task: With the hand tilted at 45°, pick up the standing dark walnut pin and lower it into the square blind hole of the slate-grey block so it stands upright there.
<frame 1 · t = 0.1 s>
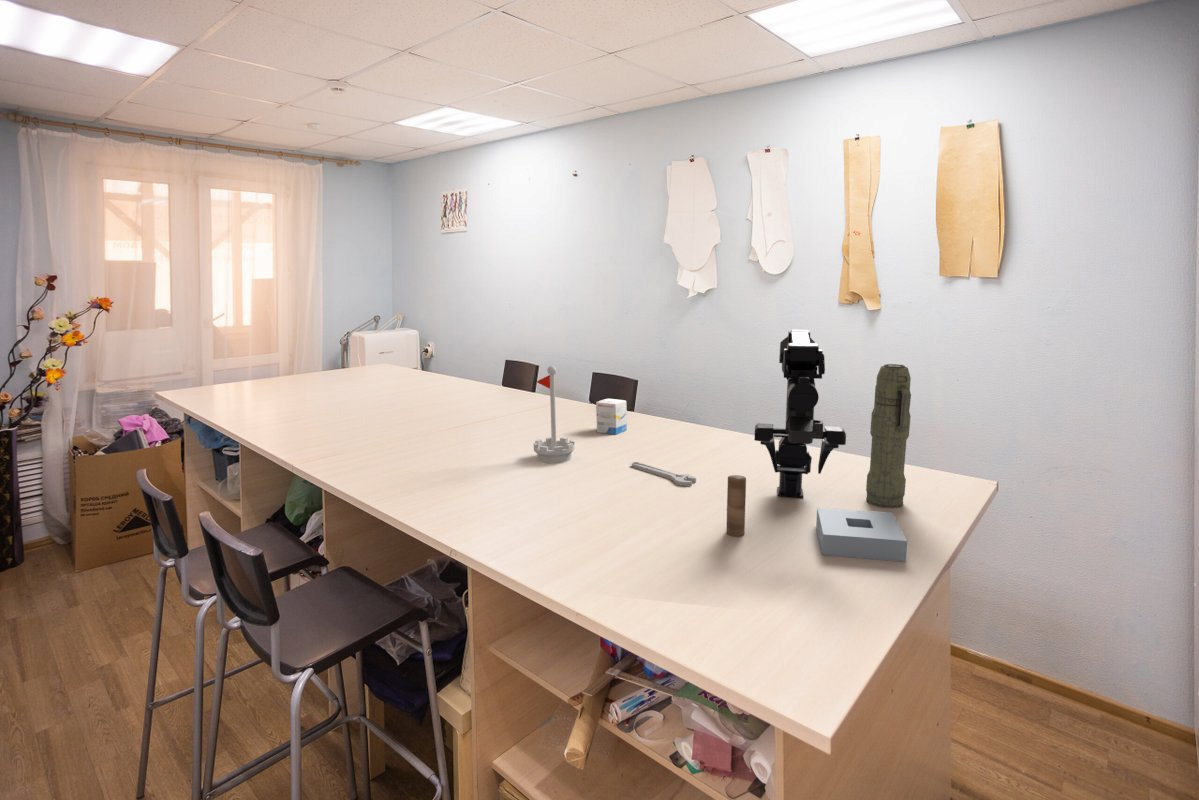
hand: (797, 472, 143), 15 cm above the table, tool pointing down, fingers open, 9 cm apart
thermos: (884, 502, 165), on the table
ink box: (611, 431, 243), on the table
pin: (735, 532, 147), on the table
hole block: (857, 542, 140), on the table
flag stand: (554, 458, 208), on the table
adjustable wrench: (664, 476, 190), on the table
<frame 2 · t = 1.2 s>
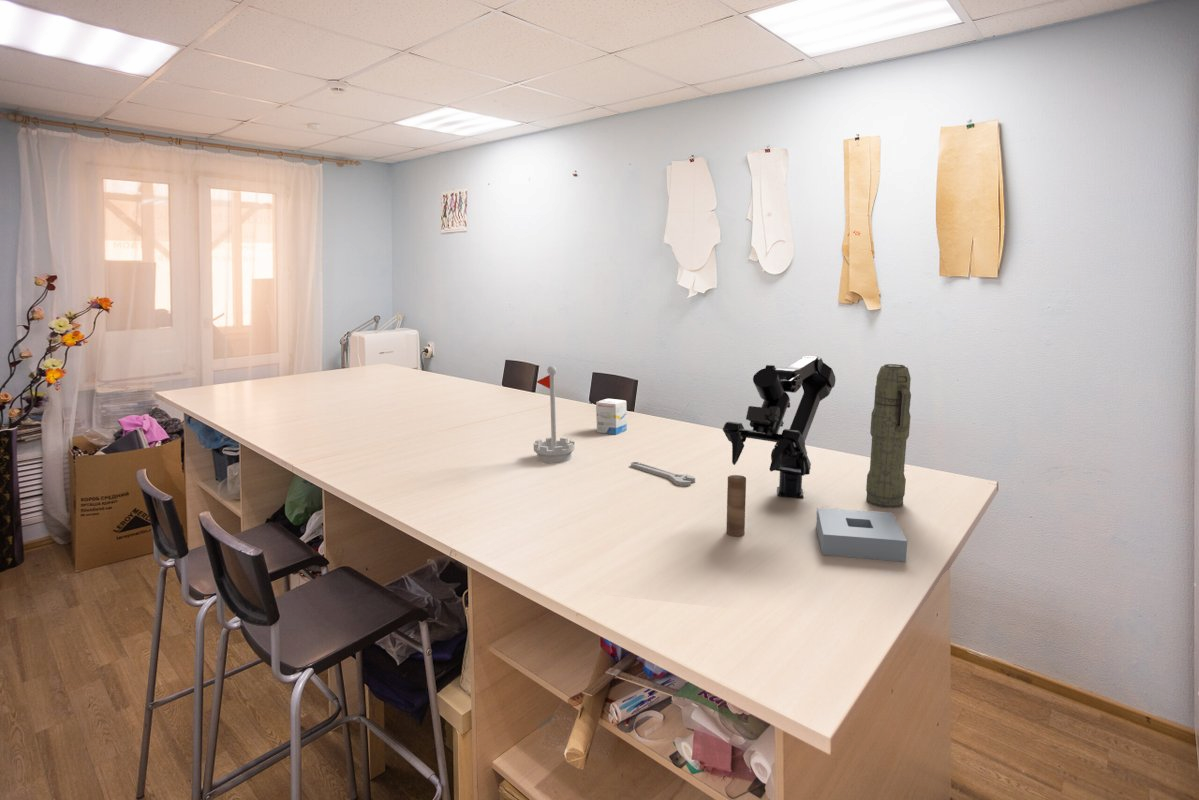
hand: (751, 467, 150), 14 cm above the table, tool tilted 45°, fingers open, 9 cm apart
nothing on the table moved.
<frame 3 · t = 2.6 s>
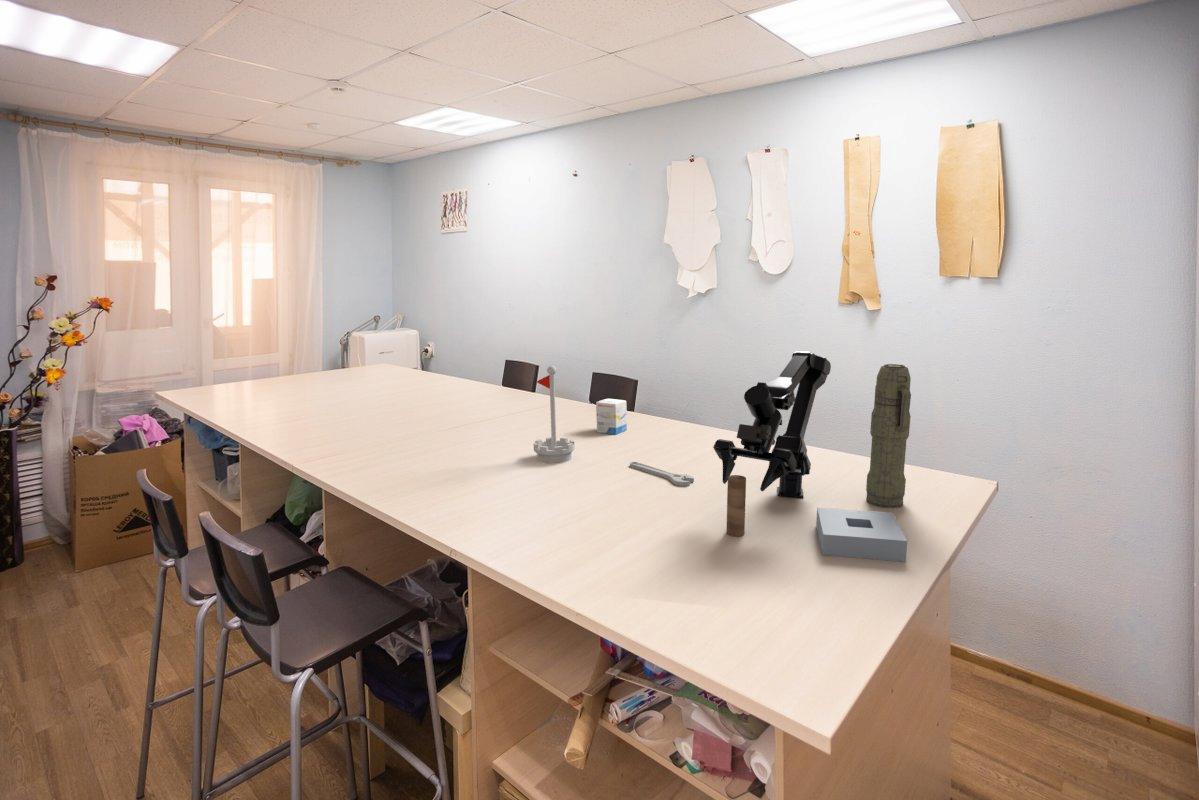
hand: (742, 486, 147), 10 cm above the table, tool tilted 45°, fingers open, 9 cm apart
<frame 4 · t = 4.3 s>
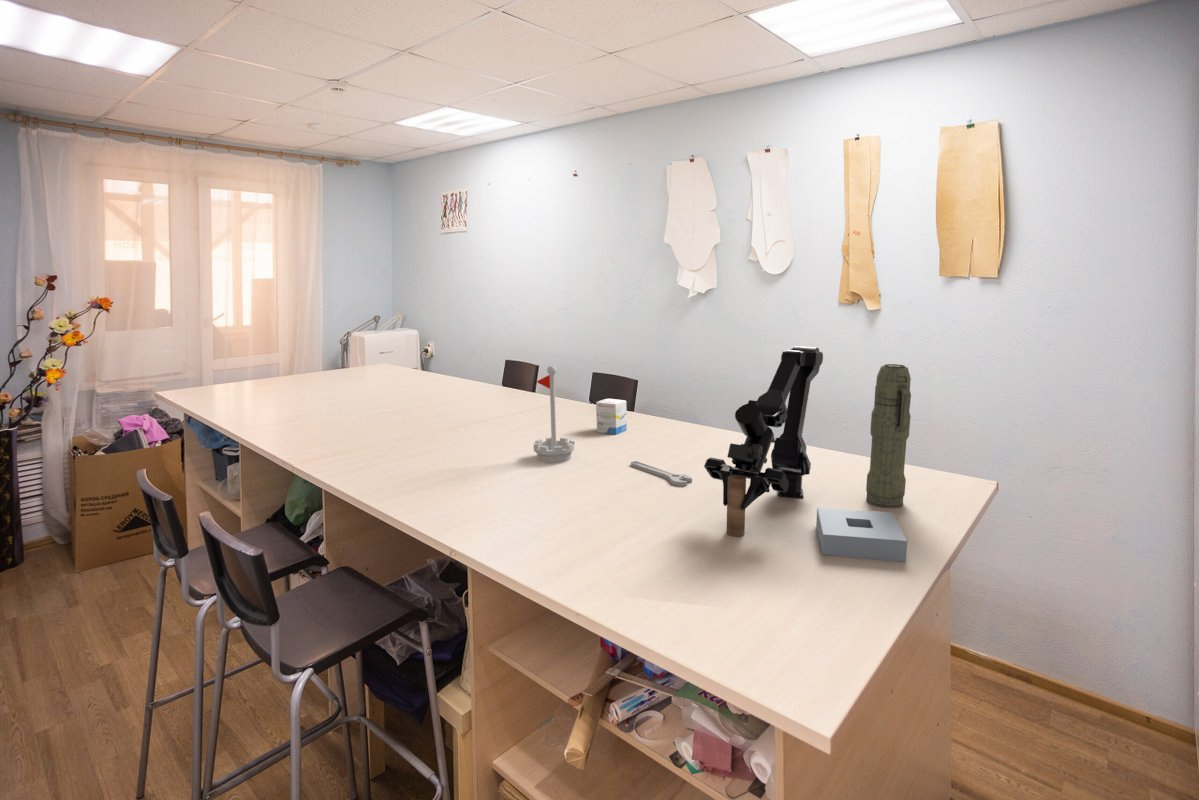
hand: (733, 507, 144), 7 cm above the table, tool tilted 45°, fingers closed on pin, 4 cm apart
pin: (735, 532, 147), on the table, touching gripper
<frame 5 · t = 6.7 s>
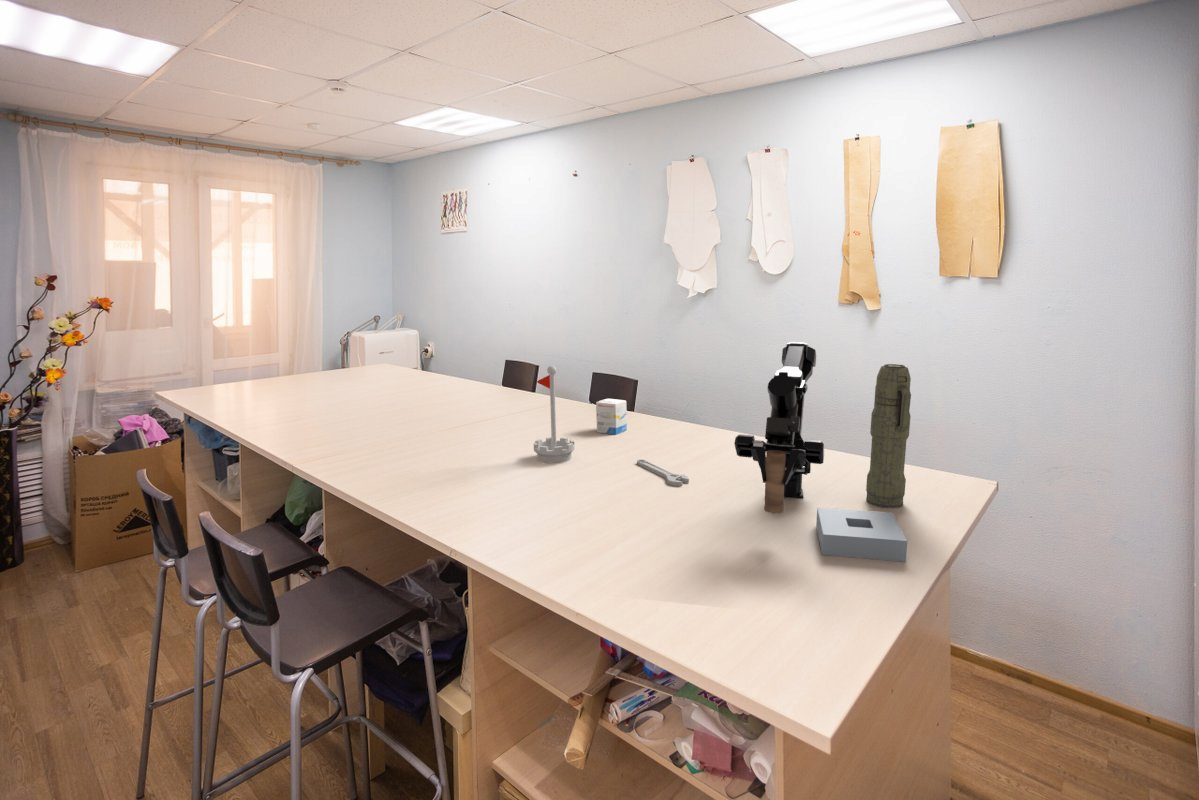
hand: (774, 483, 139), 13 cm above the table, tool tilted 45°, fingers closed on pin, 4 cm apart
pin: (773, 510, 141), point 7 cm above the table, touching gripper
when the fingers open (9 cm above the table, at t = 9.3 s): pin drops 1 cm, resting on hole block.
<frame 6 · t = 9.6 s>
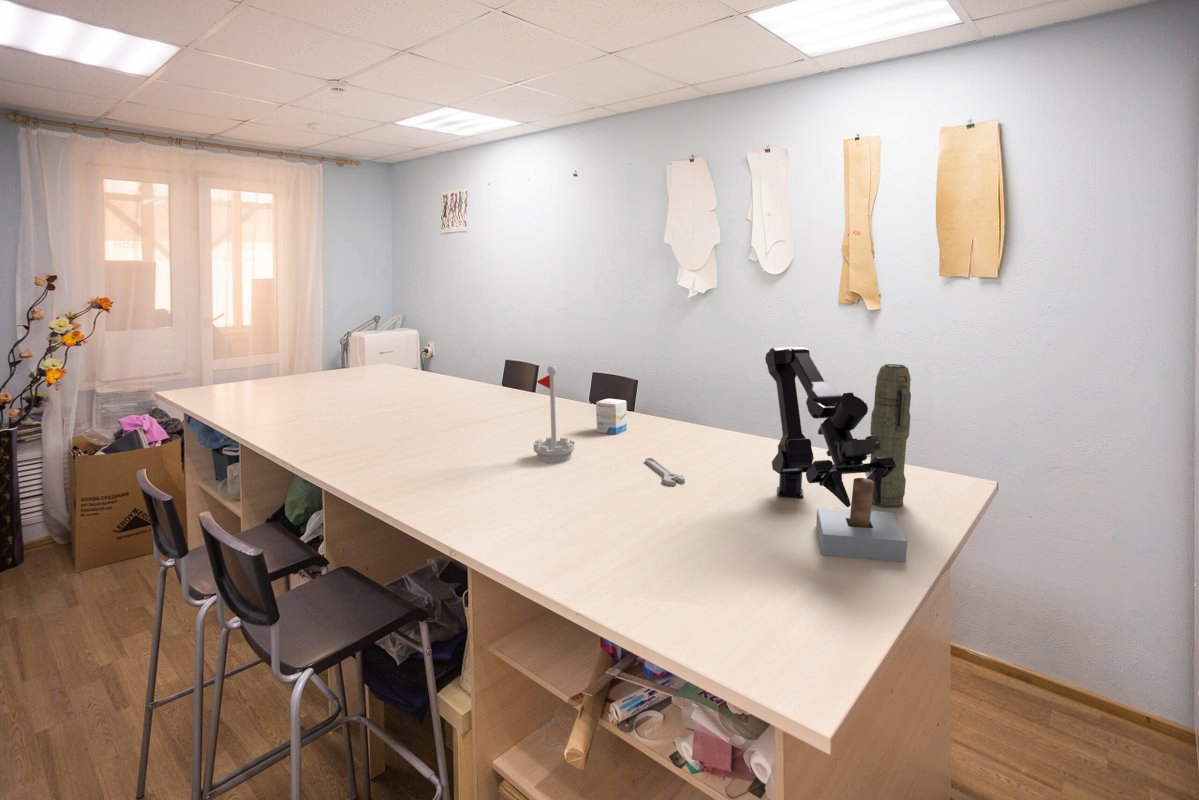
hand: (864, 505, 137), 9 cm above the table, tool tilted 45°, fingers open, 7 cm apart
pin: (858, 538, 140), point 1 cm above the table, touching hole block
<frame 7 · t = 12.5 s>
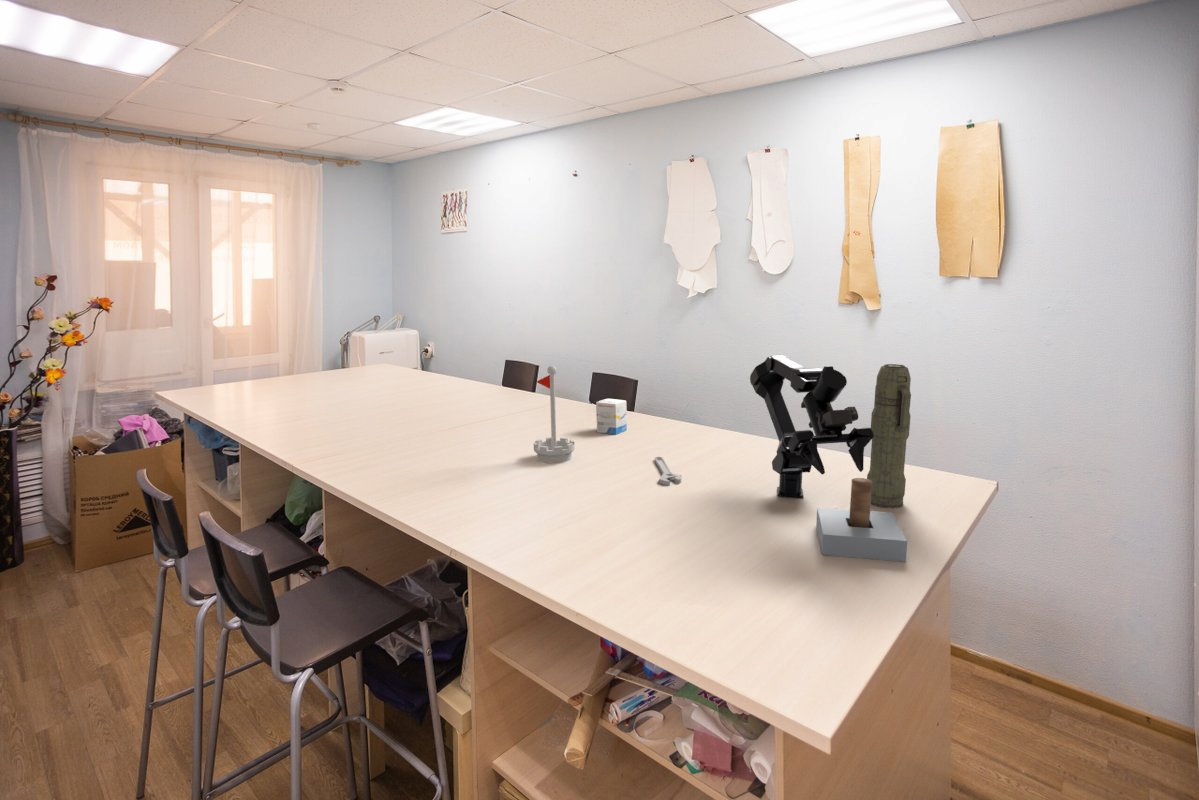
hand: (842, 472, 145), 14 cm above the table, tool tilted 45°, fingers open, 9 cm apart
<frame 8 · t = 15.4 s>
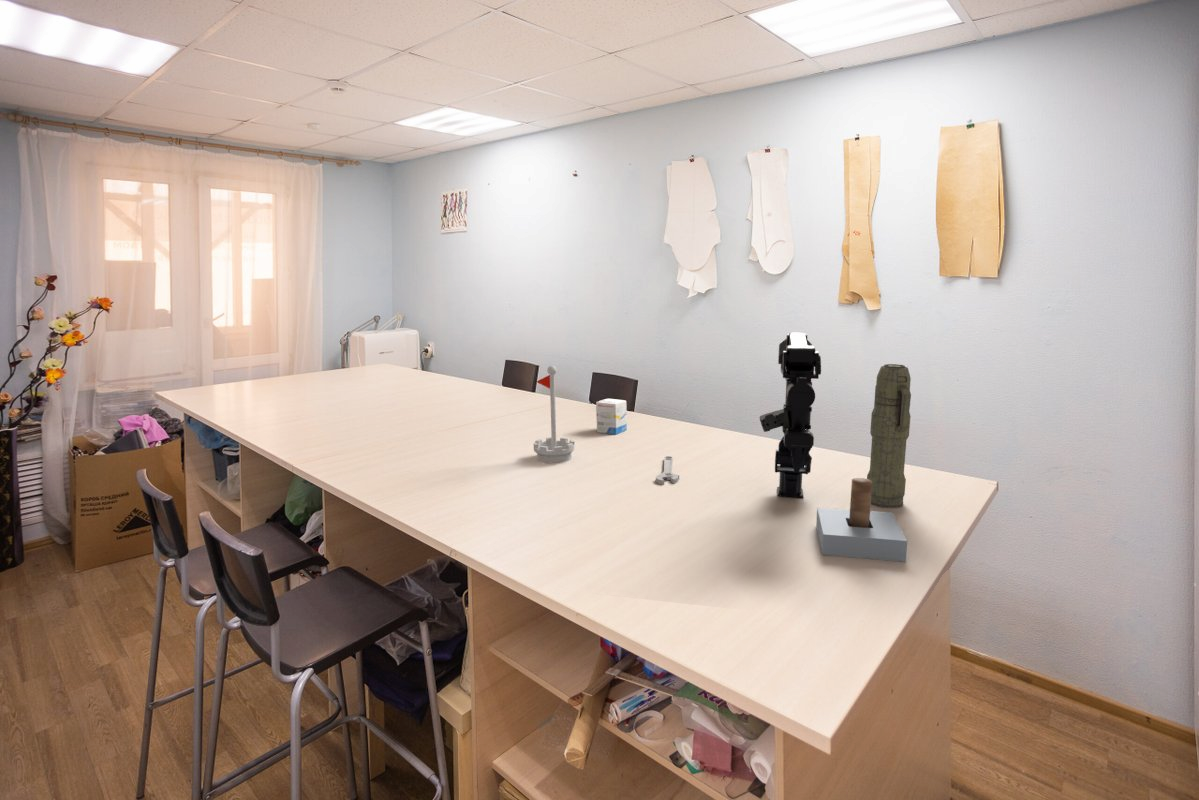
hand: (795, 465, 153), 13 cm above the table, tool pointing down, fingers open, 9 cm apart
at the end: pin 0.0 cm off-centre on the hole block, point 1.0 cm above the hole block's base; pin tilted 0°; the gripper is holding nothing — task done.
